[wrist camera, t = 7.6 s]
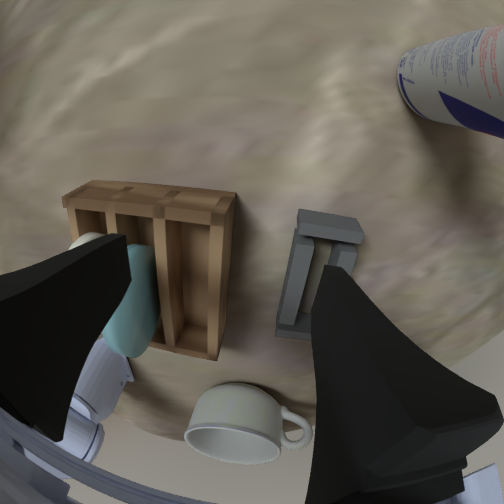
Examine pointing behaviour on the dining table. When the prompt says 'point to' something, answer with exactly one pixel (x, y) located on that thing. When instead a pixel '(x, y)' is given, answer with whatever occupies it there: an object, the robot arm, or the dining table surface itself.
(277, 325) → the rubber holder
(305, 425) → the teacup
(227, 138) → the dining table surface
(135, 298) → the teal plate
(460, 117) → the energy drink
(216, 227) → the walnut rack
